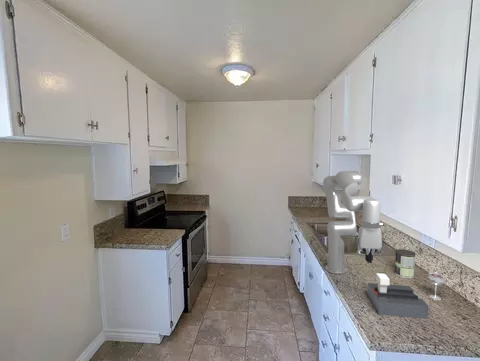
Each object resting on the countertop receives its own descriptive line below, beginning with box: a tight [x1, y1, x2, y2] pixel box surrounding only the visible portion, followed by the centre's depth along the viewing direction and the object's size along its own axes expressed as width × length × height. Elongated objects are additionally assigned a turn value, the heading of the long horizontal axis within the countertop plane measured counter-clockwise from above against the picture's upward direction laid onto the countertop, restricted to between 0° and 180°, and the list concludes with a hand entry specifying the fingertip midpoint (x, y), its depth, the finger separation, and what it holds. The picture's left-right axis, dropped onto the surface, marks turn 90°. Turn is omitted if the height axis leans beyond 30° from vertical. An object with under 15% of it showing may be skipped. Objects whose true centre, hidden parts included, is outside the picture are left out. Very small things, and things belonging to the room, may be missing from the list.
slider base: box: [366, 282, 429, 320], centre depth 127 cm, size 18×20×7 cm
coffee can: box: [394, 248, 416, 279], centre depth 159 cm, size 10×10×14 cm
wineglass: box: [427, 271, 446, 301], centre depth 133 cm, size 7×7×12 cm
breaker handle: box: [375, 272, 391, 293], centre depth 127 cm, size 6×4×8 cm, turn 170°
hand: (368, 261), depth 127 cm, fingers closed
